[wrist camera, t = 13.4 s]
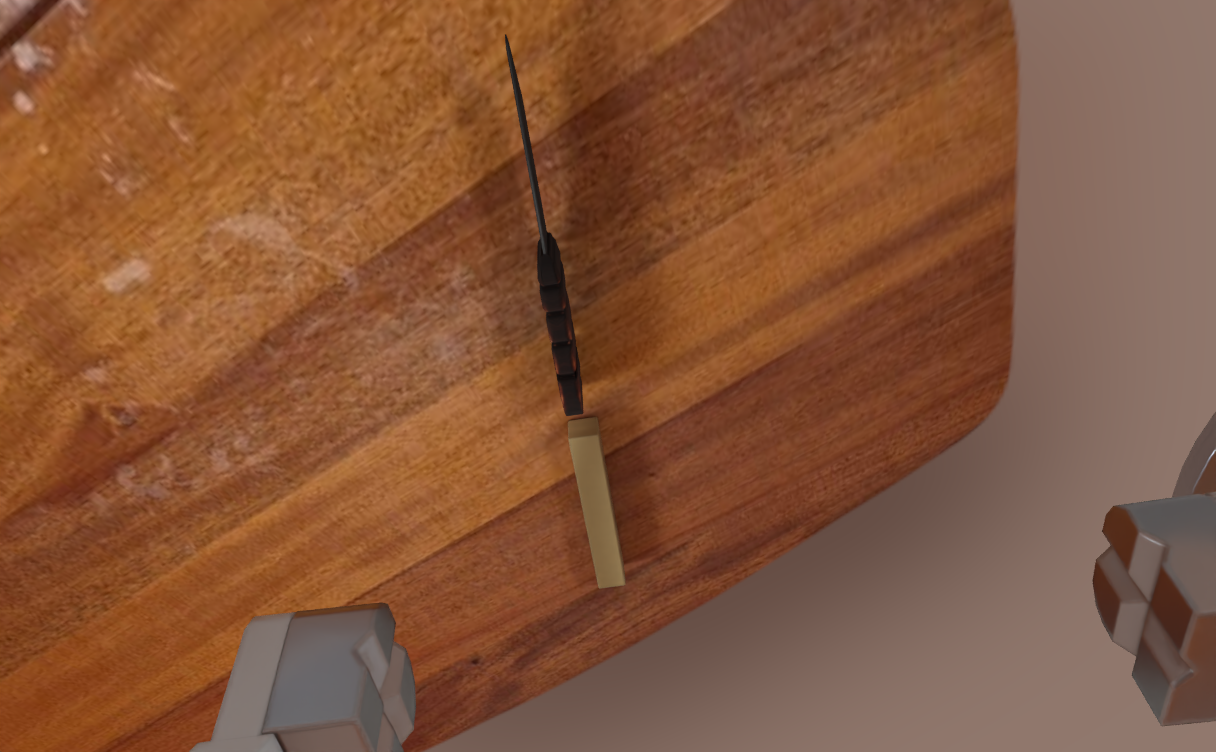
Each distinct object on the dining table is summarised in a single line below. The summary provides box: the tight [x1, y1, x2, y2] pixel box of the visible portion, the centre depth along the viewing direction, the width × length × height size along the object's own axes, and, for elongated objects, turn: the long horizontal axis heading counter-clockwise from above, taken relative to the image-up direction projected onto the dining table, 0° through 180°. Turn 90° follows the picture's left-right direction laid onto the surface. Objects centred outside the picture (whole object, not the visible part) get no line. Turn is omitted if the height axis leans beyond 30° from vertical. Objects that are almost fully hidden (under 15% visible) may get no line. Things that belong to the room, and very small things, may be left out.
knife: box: [505, 34, 583, 416], centre depth 40 cm, size 17×1×3 cm, turn 7°
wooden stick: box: [568, 417, 625, 588], centre depth 49 cm, size 1×10×1 cm, turn 8°
